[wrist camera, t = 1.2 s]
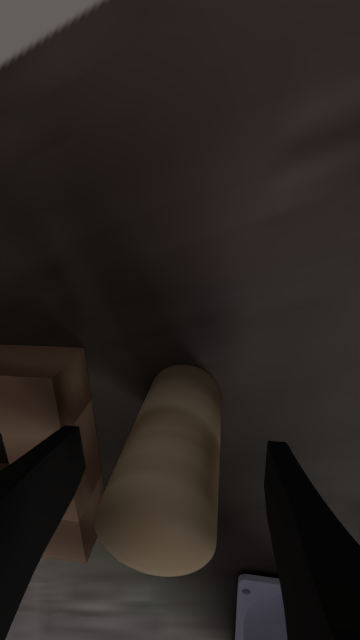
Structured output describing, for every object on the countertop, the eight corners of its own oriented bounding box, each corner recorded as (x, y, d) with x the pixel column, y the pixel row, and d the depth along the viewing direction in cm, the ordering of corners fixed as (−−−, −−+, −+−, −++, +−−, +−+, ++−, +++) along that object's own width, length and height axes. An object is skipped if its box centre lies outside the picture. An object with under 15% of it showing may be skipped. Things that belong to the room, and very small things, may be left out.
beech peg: (221, 429, 16) (215, 584, 9) (152, 424, 16) (101, 567, 10) (222, 366, 15) (217, 493, 8) (148, 362, 15) (86, 479, 9)
